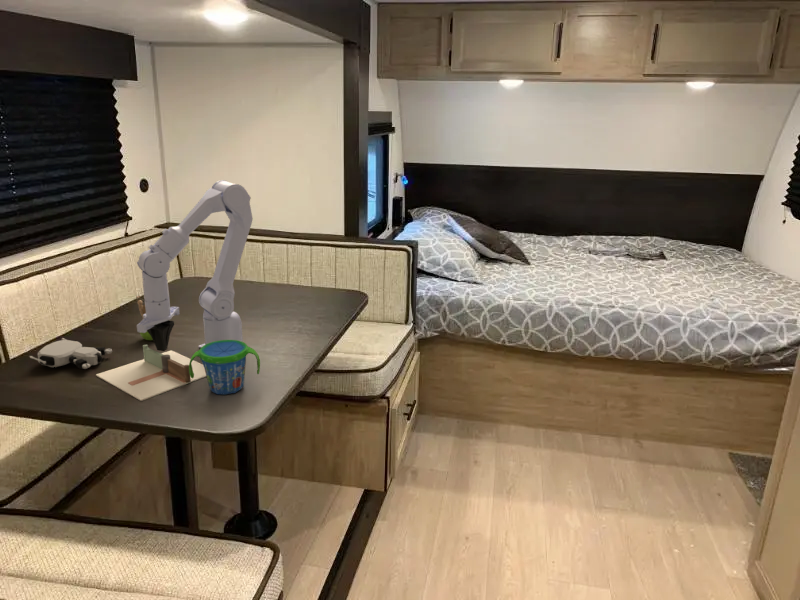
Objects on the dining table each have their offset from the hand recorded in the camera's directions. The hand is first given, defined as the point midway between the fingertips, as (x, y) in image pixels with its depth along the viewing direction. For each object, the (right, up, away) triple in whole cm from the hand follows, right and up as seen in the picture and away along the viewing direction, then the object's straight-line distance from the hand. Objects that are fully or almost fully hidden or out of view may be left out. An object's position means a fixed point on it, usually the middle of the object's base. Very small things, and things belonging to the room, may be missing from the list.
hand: (162, 349), depth 156 cm
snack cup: (+20, -8, -14) cm, 26 cm away
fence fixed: (+7, -6, -9) cm, 13 cm away
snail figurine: (-9, +2, +14) cm, 16 cm away
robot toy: (-21, -4, -3) cm, 21 cm away
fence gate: (0, -3, -4) cm, 5 cm away
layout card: (+2, -5, -8) cm, 9 cm away
